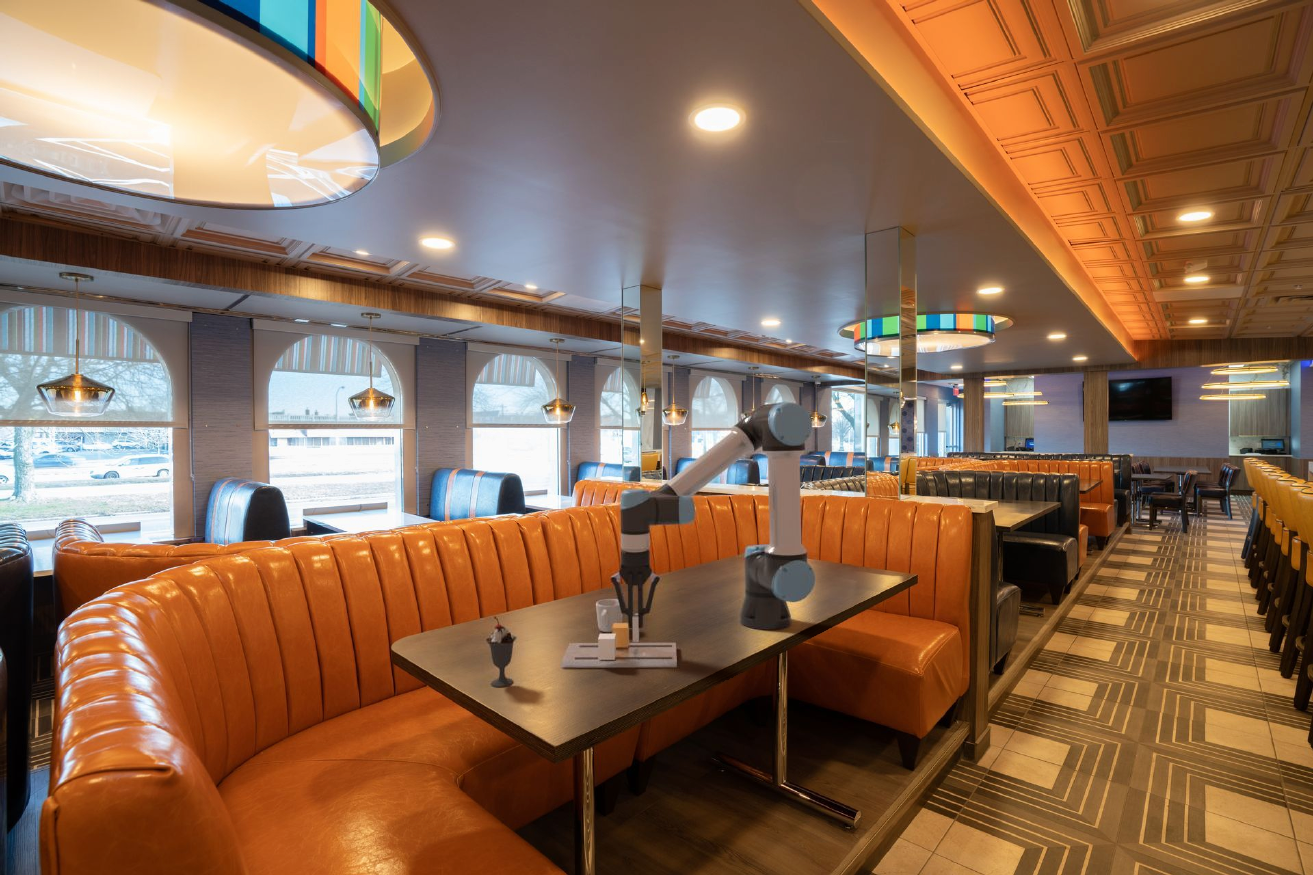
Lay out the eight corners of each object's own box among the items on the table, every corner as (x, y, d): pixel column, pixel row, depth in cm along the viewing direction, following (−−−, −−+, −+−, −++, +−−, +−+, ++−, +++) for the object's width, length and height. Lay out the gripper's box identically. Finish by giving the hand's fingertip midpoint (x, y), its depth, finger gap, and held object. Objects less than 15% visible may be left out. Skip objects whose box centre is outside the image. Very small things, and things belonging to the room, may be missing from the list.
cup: (617, 638, 169) (616, 609, 169) (589, 636, 170) (589, 608, 170) (626, 626, 179) (626, 599, 179) (600, 625, 181) (600, 598, 181)
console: (675, 648, 161) (675, 642, 161) (676, 667, 148) (676, 660, 148) (569, 648, 161) (569, 642, 161) (561, 667, 148) (561, 660, 148)
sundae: (489, 677, 142) (488, 613, 142) (518, 676, 143) (518, 612, 143) (484, 689, 136) (483, 622, 135) (514, 688, 136) (514, 621, 136)
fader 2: (629, 641, 160) (628, 622, 160) (628, 647, 156) (627, 627, 156) (613, 641, 160) (613, 622, 160) (612, 647, 156) (612, 627, 156)
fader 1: (616, 653, 152) (615, 633, 152) (614, 659, 148) (614, 638, 148) (599, 653, 152) (599, 633, 152) (598, 659, 148) (598, 638, 148)
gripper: (660, 546, 162) (661, 635, 162) (611, 546, 162) (611, 635, 162) (660, 551, 154) (660, 645, 154) (608, 552, 154) (609, 645, 154)
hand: (635, 640), depth 158 cm, fingers closed
